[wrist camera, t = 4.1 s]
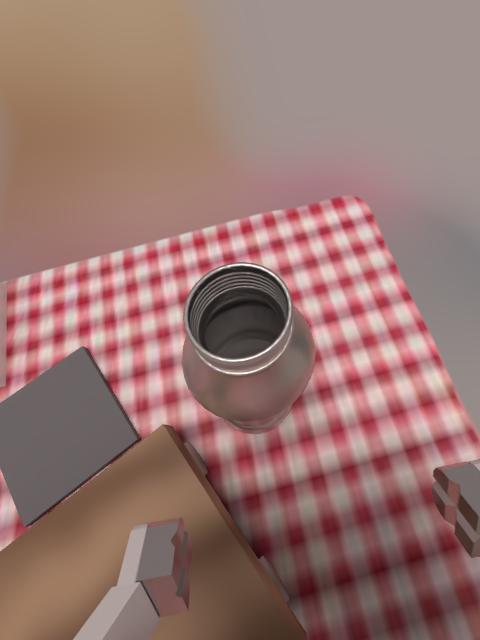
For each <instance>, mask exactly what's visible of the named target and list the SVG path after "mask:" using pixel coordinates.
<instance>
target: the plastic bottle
mask: <svg viewBox="0 0 480 640" xmlns="http://www.w3.org/2000/svg"><path fill="white" fill-rule="evenodd" d="M183 320H184V326H185V331H186V337H185V342H184V346H183V355H182V367H183V373H184V378H185V380H186V383H187V386H188V388H189V390H190V391H191V393H192V394H193V396H194V397H195V399H196V400H197V401H198V402H199V403H200V404H201V405H202V406H203V407H204V408H205V409H207V410H208V411H210V412H212V413H213V414H215V415H217V416H219V417H222V418H223V419H224V420H225V421H226V422H227V423H228V424H229V425H230V426H231V427H233V428H234V429H236V430H238V431H241V432H244V433H250V434H257V433H263V432H266V431H269V430H271V429H273V428H275V427H276V426H277V425H279V424H280V423H281V422H282V421H283V420H284V419H285V417H286V416H287V415H288V413H289V411H290V409H291V406H292V403H294V402H295V401H296V400H297V398H298V397H299V396H300V395H301V394H302V392H303V391H304V390H305V388H306V386H307V384H308V382H309V380H310V378H311V375H312V372H313V368H314V363H315V346H314V339H313V336H312V333H311V330H310V328H309V326H308V324H307V322H306V320H305V319H304V317H303V315H302V314H301V313H300V311H299V310H298V309H297V308H296V307H295V306H294V305H293V302H292V298H291V295H290V292H289V290H288V288H287V286H286V285H285V283H284V281H283V280H282V279H281V278H280V277H279V276H278V275H277V274H276V273H274V272H273V271H271V270H270V269H268V268H266V267H263V266H261V265H258V264H254V263H245V262H238V263H230V264H227V265H223V266H220V267H218V268H216V269H214V270H212V271H210V272H209V273H207V274H206V275H204V276H203V277H202V278H201V279H200V280H199V281H198V282H197V283H196V284H195V286H194V287H193V288H192V290H191V291H190V293H189V295H188V297H187V299H186V303H185V307H184V317H183Z"/></svg>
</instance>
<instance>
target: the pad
mask: <svg viewBox="0 0 480 640" xmlns="http://www.w3.org/2000/svg"><path fill="white" fill-rule="evenodd" d="M139 440H141V439H140V437H139V435H138V434H137V432H136V430H135V429H134V427H133V425H132V424H131V422H130V420H129V418H128V417H127V415H126V413H125V412H124V410H123V408H122V407H121V405H120V403H119V402H118V400H117V398H116V397H115V395H114V393H113V392H112V390H111V388H110V387H109V385H108V383H107V381H106V380H105V378H104V376H103V375H102V373H101V371H100V370H99V368H98V366H97V365H96V363H95V361H94V360H93V358H92V356H91V355H90V353H89V351H88V350H87V348H85V347H83V346H82V347H81V348H79V349H78V350H76V351H75V352H73V353H72V354H70V355H69V356H68V357H66V358H65V359H63V360H62V361H60V362H59V363H57V364H56V365H55V366H53V367H52V368H50V369H49V370H47V371H46V372H44V373H43V374H42V375H40V376H39V377H37V378H36V379H34V380H33V381H32V382H30V383H29V384H27V385H26V386H24V387H23V388H21V389H20V390H19V391H17V392H16V393H14V394H13V395H11V396H10V397H8V398H7V399H6V400H4V401H3V402H1V403H0V468H1V471H2V473H3V476H4V478H5V481H6V483H7V486H8V488H9V491H10V493H11V496H12V498H13V501H14V503H15V506H16V508H17V511H18V513H19V516H20V518H21V521H22V523H23V526H24V527H27V526H30V525H32V524H33V523H34V522H36V521H37V520H38V519H39V518H41V517H42V516H43V515H45V514H46V513H47V512H48V511H50V510H51V509H52V508H53V507H55V506H56V505H57V504H59V503H60V502H61V501H62V500H64V499H65V498H66V497H68V496H69V495H70V494H71V493H73V492H74V491H75V490H77V489H78V488H79V487H80V486H82V485H83V484H84V483H86V482H87V481H88V480H89V479H91V478H92V477H93V476H94V475H96V474H97V473H98V472H100V471H101V470H102V469H103V468H105V467H106V466H107V465H109V464H110V463H111V462H112V461H114V460H115V459H116V458H118V457H119V456H120V455H121V454H123V453H124V452H125V451H127V450H128V449H129V448H130V447H132V446H133V445H134V444H135V443H137V442H138V441H139Z"/></svg>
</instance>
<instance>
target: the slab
mask: <svg viewBox="0 0 480 640" xmlns="http://www.w3.org/2000/svg"><path fill="white" fill-rule="evenodd" d="M207 473H208V470H207V467H206V465H205V463H204V461H203V460H202V458H201V457H200V455H199V454H198V452H197V451H196V450H195V448H194V447H193V446H192V445H191V444H190V443H189V442H186V443H185V444H184V443H183V442H182V440H181V439H180V437H179V435H178V434H177V432H176V431H175V429H174V428H173V426H169V425H164V424H163V425H162V426H160V427H159V428H158V429H156V430H155V431H154V432H153V433H151V434H150V435H149V436H148V437H146V438H145V439H144V440H142V441H141V442H140V443H139V444H137V445H136V446H135V447H133V448H132V449H131V450H130V451H128V452H127V453H126V454H125V455H123V456H122V457H121V458H119V459H118V460H117V461H116V462H114V463H113V464H112V465H110V466H109V467H108V468H107V469H105V470H104V471H103V472H101V473H100V474H99V475H98V476H96V477H95V478H94V479H93V480H91V481H90V482H89V483H87V484H86V485H85V486H84V487H82V488H81V489H80V490H78V491H77V492H76V493H75V494H73V495H72V496H71V497H70V498H68V499H67V500H66V501H64V502H63V503H62V504H61V505H59V506H58V507H57V508H55V509H54V510H53V511H52V512H50V513H49V514H48V515H47V516H45V517H44V518H43V519H41V520H40V521H39V522H38V523H36V524H35V525H34V526H32V527H31V528H30V529H29V530H27V531H26V532H25V533H23V534H22V535H21V536H20V537H18V538H17V539H16V540H15V541H13V542H12V543H11V544H9V545H8V546H7V547H6V548H4V549H3V550H2V551H0V640H73V639H74V638H75V636H76V635H77V634H78V632H79V631H80V629H81V628H82V627H83V625H84V624H85V623H86V621H87V620H88V619H89V617H90V616H91V615H92V613H93V612H94V610H95V609H96V608H97V606H98V605H99V604H100V602H101V601H102V600H103V598H104V597H105V596H106V594H107V593H108V591H109V590H110V589H111V587H114V586H117V582H118V579H119V575H120V571H121V567H122V563H123V559H124V555H125V552H126V548H127V544H128V540H129V536H130V532H131V530H132V528H133V526H134V525H138V524H144V523H149V522H156V521H161V520H167V519H173V518H179V517H182V519H183V521H184V523H185V526H184V531H186V532H188V533H189V536H190V540H191V545H192V567H191V569H190V570H189V572H188V574H187V577H188V580H189V582H190V595H189V609H188V611H187V612H182V613H178V614H173V615H169V616H164V617H160V621H159V623H158V625H157V627H156V629H155V631H154V633H153V635H152V637H151V639H150V640H308V639H307V635H306V632H305V630H304V629H303V627H302V626H301V624H300V623H299V621H298V620H297V618H296V617H295V615H294V613H293V612H292V610H291V609H290V607H289V606H288V604H287V602H288V601H289V596H288V593H287V591H286V589H285V587H284V585H283V583H282V581H281V579H280V577H279V576H278V574H277V572H276V571H275V569H274V568H273V566H272V565H271V564H270V562H269V561H268V560H267V559H266V558H265V557H264V556H262V557H261V558H260V559H258V558H257V556H256V555H255V553H254V552H253V550H252V548H251V547H250V545H249V544H248V542H247V541H246V539H245V538H244V536H243V535H242V533H241V531H240V530H239V528H238V527H237V525H236V524H235V522H234V521H233V519H232V518H231V516H230V514H229V513H228V511H227V510H226V508H225V507H224V505H223V504H222V502H221V500H220V499H219V497H218V496H217V494H216V493H215V491H214V490H213V488H212V487H211V485H210V483H209V482H208V480H207V479H206V477H205V475H206V474H207Z"/></svg>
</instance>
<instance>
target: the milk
mask: <svg viewBox="0 0 480 640" xmlns="http://www.w3.org/2000/svg"><path fill="white" fill-rule="evenodd" d="M6 328H7V285H6V284H4V283H2V282H0V388H1V387H5V386H6Z"/></svg>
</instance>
